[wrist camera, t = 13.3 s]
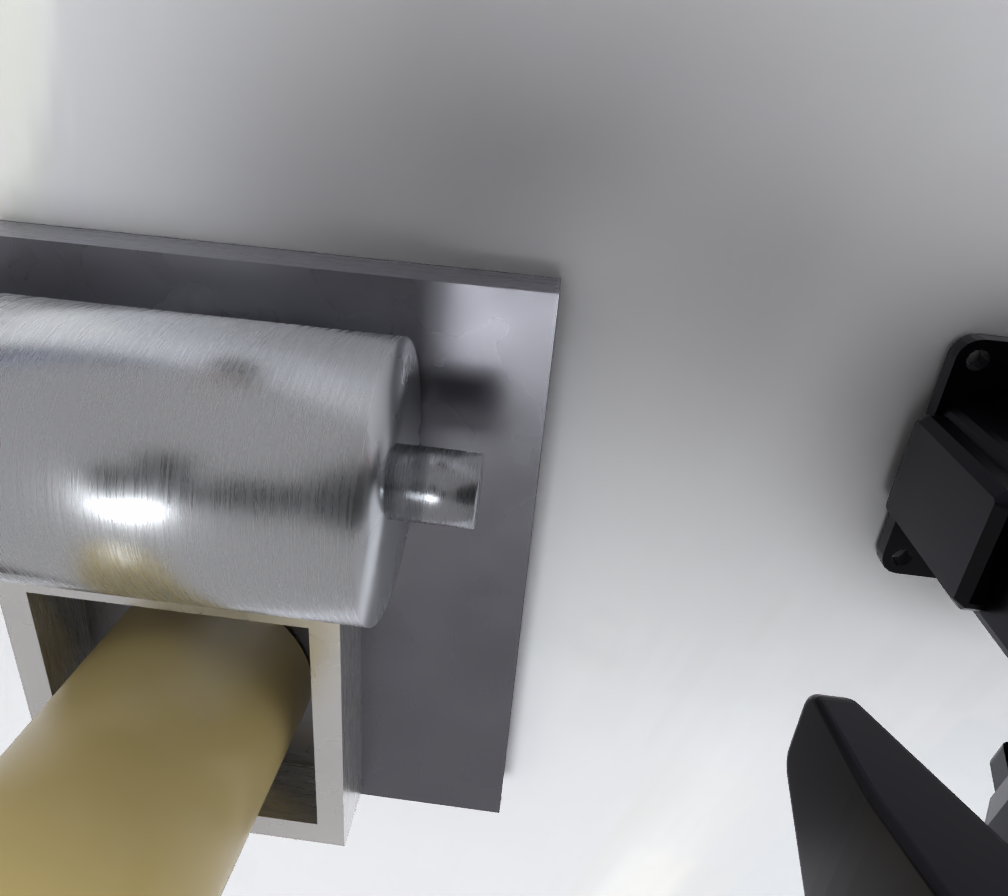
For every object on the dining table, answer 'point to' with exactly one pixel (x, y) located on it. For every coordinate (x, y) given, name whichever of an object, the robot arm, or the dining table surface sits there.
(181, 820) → the bottle
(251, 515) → the motor mount
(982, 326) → the dining table surface
